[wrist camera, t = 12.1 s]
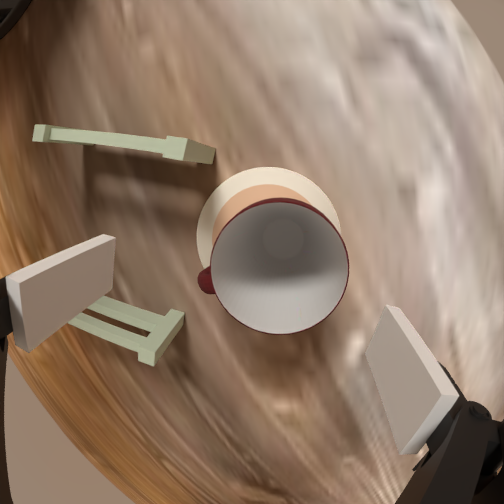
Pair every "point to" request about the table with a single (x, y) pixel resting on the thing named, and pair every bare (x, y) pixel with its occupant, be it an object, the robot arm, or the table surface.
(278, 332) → the mug
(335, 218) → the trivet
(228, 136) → the table surface
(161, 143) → the cradle
